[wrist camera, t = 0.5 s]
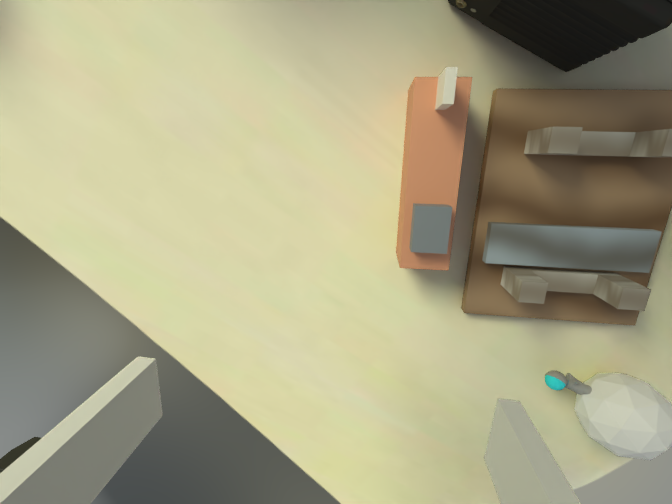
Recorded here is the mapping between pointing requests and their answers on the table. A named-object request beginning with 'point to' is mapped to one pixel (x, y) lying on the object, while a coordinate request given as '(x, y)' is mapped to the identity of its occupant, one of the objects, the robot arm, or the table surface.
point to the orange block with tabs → (432, 169)
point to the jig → (570, 204)
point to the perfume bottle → (620, 413)
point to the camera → (571, 25)
